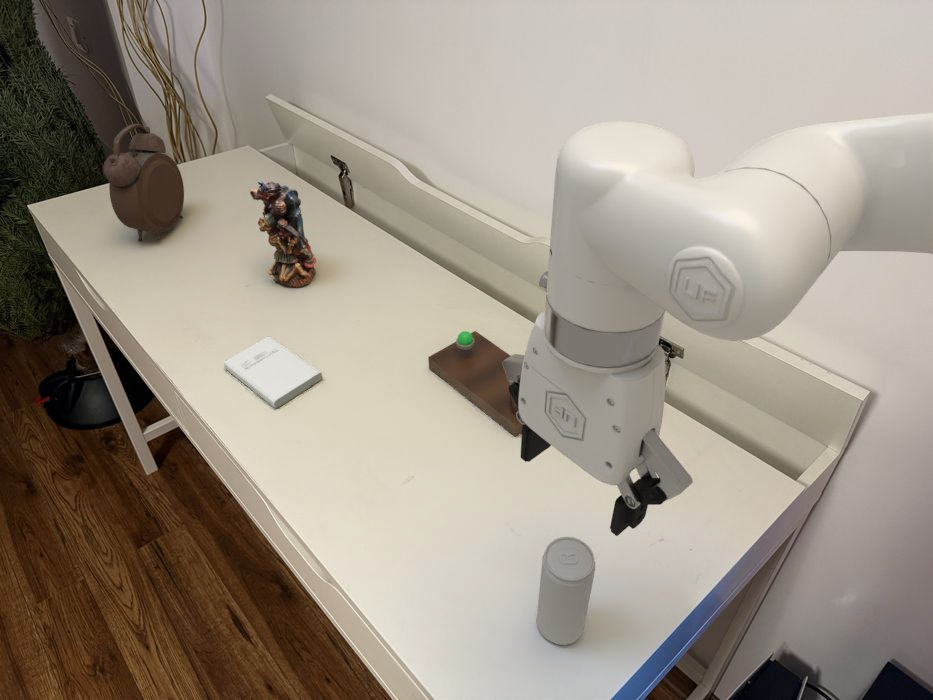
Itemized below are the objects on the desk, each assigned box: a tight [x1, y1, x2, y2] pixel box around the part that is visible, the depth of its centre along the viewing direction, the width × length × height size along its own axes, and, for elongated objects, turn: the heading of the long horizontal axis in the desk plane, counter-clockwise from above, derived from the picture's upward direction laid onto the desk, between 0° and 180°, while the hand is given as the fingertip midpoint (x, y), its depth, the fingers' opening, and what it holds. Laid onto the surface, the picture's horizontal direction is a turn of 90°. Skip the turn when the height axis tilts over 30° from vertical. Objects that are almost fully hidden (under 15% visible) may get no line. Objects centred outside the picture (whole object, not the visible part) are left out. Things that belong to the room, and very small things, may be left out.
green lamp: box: [455, 330, 475, 350], centre depth 98 cm, size 3×3×2 cm
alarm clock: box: [102, 123, 185, 242], centre depth 126 cm, size 14×7×20 cm, turn 169°
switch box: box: [427, 330, 523, 438], centre depth 96 cm, size 20×9×4 cm, turn 41°
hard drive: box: [223, 336, 323, 409], centre depth 100 cm, size 2×8×12 cm
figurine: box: [249, 180, 317, 288], centre depth 113 cm, size 11×9×18 cm
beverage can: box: [536, 536, 596, 646], centre depth 67 cm, size 5×5×12 cm
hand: (578, 486), depth 56 cm, fingers open, 9 cm apart
